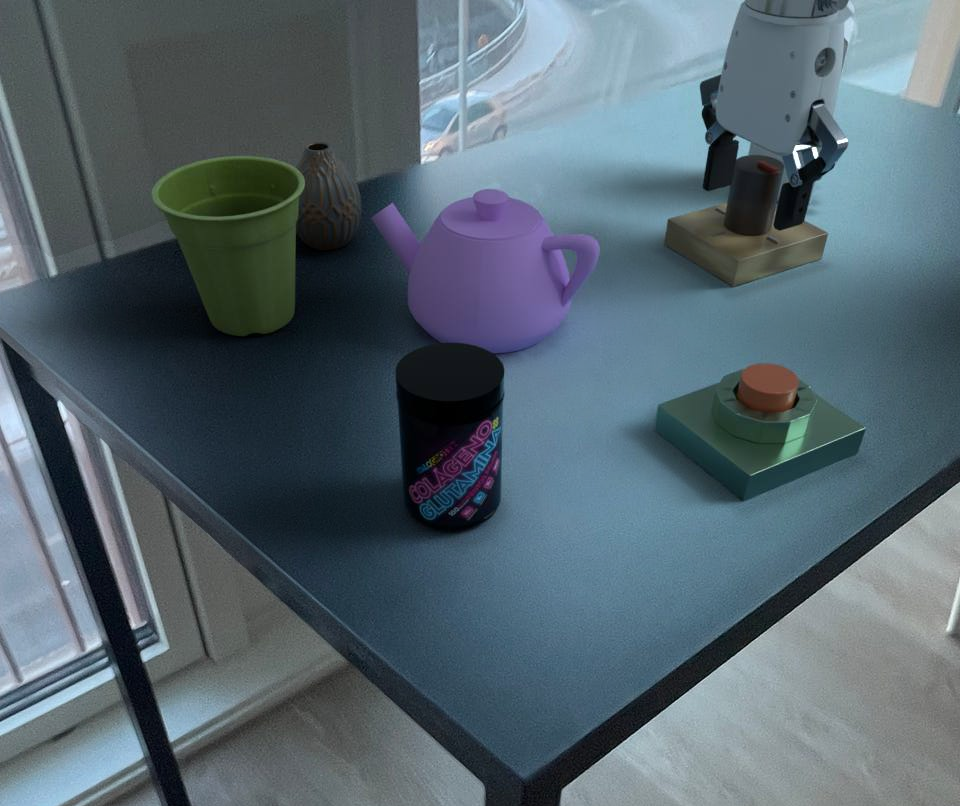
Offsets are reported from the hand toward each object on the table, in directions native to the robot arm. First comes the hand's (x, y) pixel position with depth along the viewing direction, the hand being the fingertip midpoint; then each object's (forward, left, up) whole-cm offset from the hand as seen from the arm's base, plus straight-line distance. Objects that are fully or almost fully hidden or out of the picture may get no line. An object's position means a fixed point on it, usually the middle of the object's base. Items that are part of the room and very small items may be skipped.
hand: (751, 206), depth 93 cm
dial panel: (0, 0, -4) cm, 4 cm away
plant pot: (+45, -12, -4) cm, 47 cm away
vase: (+33, -22, -4) cm, 40 cm away
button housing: (+20, +24, -4) cm, 32 cm away
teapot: (+28, -2, -4) cm, 28 cm away
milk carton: (-13, -9, -4) cm, 16 cm away
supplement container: (+43, +19, -4) cm, 47 cm away
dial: (0, 0, -2) cm, 2 cm away
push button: (+20, +24, -1) cm, 31 cm away
